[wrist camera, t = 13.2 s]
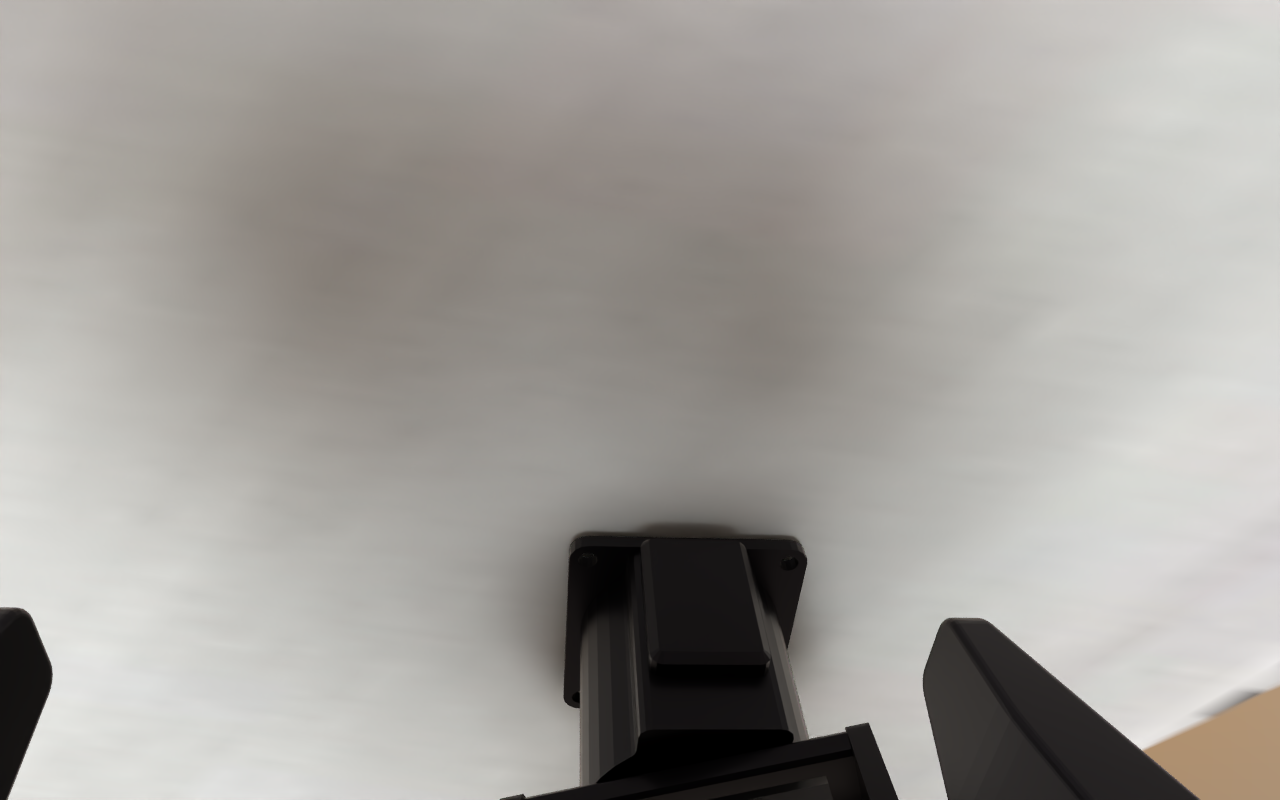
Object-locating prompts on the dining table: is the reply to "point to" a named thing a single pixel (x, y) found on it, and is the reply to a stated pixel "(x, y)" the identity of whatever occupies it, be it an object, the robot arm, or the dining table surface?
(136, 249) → the dining table surface
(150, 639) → the dining table surface
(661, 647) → the robot arm
